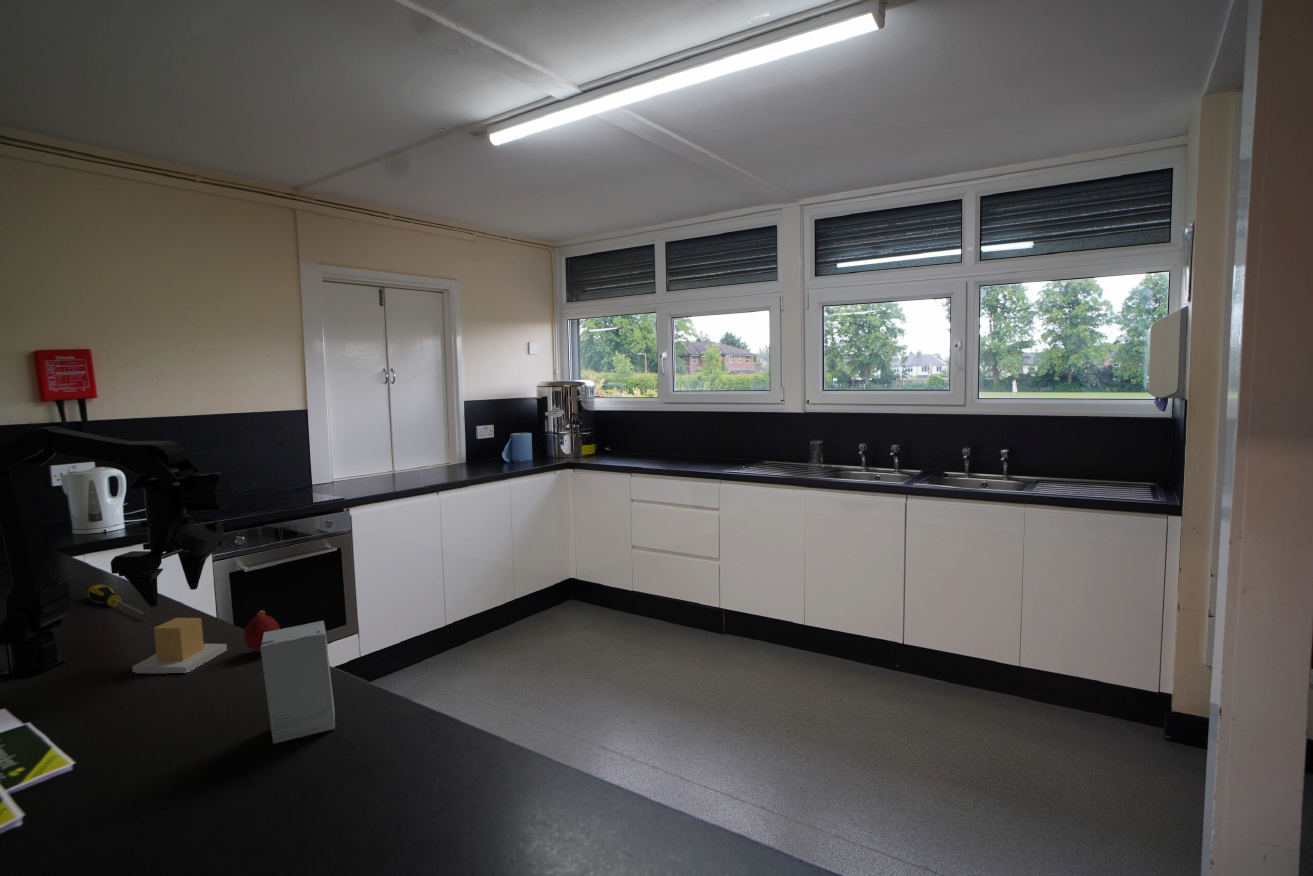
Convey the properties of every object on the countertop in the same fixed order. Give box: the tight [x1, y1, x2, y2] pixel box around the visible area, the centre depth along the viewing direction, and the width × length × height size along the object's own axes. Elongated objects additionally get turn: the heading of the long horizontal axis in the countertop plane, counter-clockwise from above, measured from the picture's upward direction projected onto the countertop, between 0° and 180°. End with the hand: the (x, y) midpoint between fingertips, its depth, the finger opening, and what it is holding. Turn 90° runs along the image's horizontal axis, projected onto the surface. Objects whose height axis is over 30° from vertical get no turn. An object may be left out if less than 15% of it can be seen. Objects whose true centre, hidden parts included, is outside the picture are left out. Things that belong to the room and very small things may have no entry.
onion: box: [243, 610, 281, 653], centre depth 126 cm, size 6×6×8 cm
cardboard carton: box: [153, 617, 205, 661], centre depth 123 cm, size 5×5×6 cm
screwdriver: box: [87, 584, 149, 618], centre depth 153 cm, size 3×3×30 cm
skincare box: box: [260, 620, 336, 745], centre depth 98 cm, size 8×6×15 cm
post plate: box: [131, 643, 228, 674], centre depth 123 cm, size 10×10×6 cm
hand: (174, 597), depth 123 cm, fingers open, 9 cm apart
